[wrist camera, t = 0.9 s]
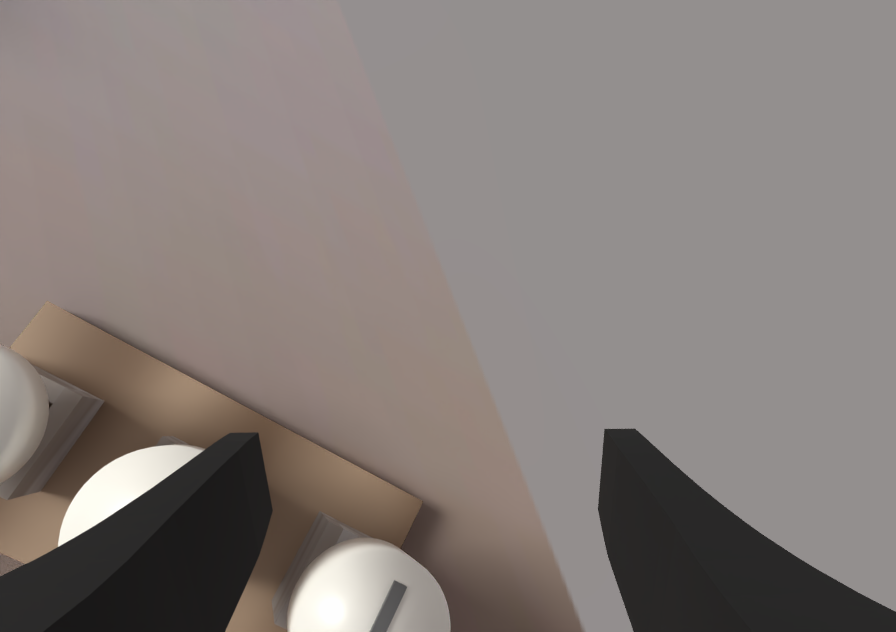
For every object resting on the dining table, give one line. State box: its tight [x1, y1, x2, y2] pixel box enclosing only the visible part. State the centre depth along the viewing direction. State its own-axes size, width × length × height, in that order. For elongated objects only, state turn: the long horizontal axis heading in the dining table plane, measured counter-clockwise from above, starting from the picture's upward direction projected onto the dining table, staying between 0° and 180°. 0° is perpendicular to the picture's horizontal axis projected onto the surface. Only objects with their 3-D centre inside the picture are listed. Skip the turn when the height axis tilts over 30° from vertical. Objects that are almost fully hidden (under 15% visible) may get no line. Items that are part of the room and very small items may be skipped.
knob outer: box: [287, 538, 451, 632], centre depth 18 cm, size 4×4×6 cm
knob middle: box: [58, 444, 205, 547], centre depth 17 cm, size 4×4×6 cm
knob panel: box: [0, 301, 423, 632], centre depth 21 cm, size 17×8×4 cm, turn 62°
